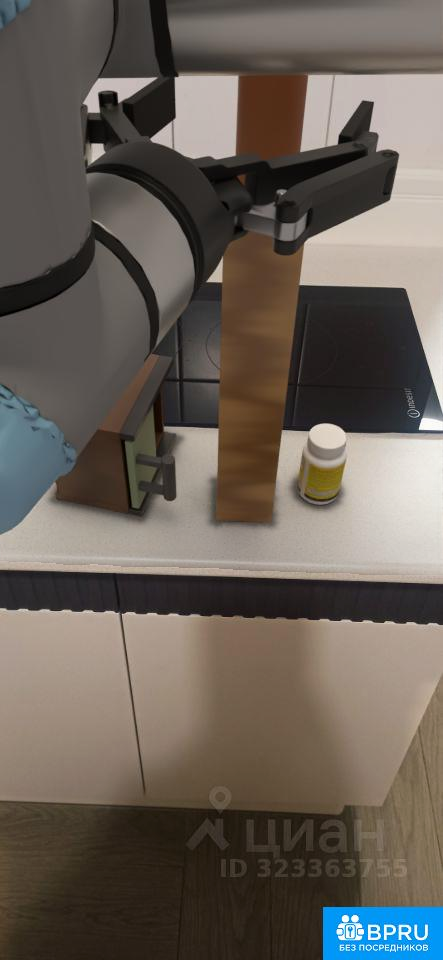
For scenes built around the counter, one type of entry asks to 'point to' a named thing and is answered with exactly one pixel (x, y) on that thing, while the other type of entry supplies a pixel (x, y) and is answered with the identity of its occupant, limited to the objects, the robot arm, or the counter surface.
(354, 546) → the counter surface
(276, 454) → the stand
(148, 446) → the sliding door
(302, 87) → the amber bottle
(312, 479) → the supplement bottle
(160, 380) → the cabinet
